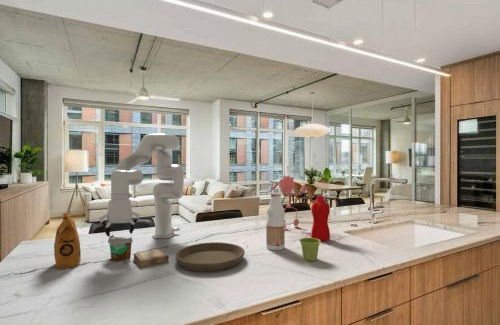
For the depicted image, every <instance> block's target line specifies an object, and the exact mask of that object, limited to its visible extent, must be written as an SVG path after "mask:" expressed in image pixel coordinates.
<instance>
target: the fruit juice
mask: <svg viewBox="0 0 500 325" xmlns="http://www.w3.org/2000/svg"><path fill="white" fill-rule="evenodd" d="M270 197H271V198H270V201H269V204H268V206H267V208H266V216H267V218H266V223H265V224H266V226H265V228H266V230H265V232H266V233H265V234H266V236H265V237H266V238H265V239H266V249H268V250H270V251H282V250H284V249H285V246H286V245H285V238H286V237H285V234H286V233H285V231H286V228H285V225H286V220H285V211H284V210H285V208H284V207H283V203H282V201H281V199H280V198H281V193H277V192H274V193H270ZM284 220H285V221H284Z"/></svg>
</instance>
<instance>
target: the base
mask: <svg viewBox="0 0 500 325" xmlns="http://www.w3.org/2000/svg"><path fill="white" fill-rule="evenodd" d="M133 261H134V262H135V263H136V264H137V265H138V266H139V267H140V268H142V269H143V268H146V267H152V266H156V265H161V264H166V263H169V262H170V255H169V254H168V253H167V252H165V251H164V250H162V249H161V248H155V249H151V250H145V251H139V252H134V253H133Z"/></svg>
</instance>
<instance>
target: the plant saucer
mask: <svg viewBox="0 0 500 325" xmlns="http://www.w3.org/2000/svg"><path fill="white" fill-rule="evenodd" d="M244 256H245V249H244V248H243V247H242V246H240V245H237V244H234V243H231V242H230V243H227V242H201V243H196V244H195V243H194V244H191V245H187V246H183V247H182V248H180V249H178V250H177V251H176V252H175V254H174V257H175V258H174V259H176V262H178V263H179V264H180V266H181V267H183V268H184V269H187V270H190V271H194V272H206V273H207V272H218V271H224V270H227V269H230V268H233V267H235V266H236V265H238V264H239V262H240V261H241V260H242V259H243V257H244Z"/></svg>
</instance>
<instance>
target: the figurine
mask: <svg viewBox="0 0 500 325" xmlns="http://www.w3.org/2000/svg"><path fill="white" fill-rule="evenodd" d="M294 180H295V178H294V177H293V176H292V177H290V175H287V176H286V175H283V177H282V179H281V178H280V180H279V181H280V183H279V182H277V183H276V184H274V185H273V186H272V188H270V190H269V192H272V191H274V190H275V189H277V187H279V189H280V192H281V194H282V195H283V196H284V195H288V203H287V204H286V207H285V208H284V212H285V211H286V209H287V208H288V209H290V208H292V209H294V210H295V211H296V214H295V219H294V220H293V222H292V223H293V226H294V227H297V229H299V222H300V220H299V219H298V217H297V215H298V209H297V208H295V207H293V206H292V205H291V204H290V200H291V196H292V195H295V196H299V195H300V194H301V192H303V193H306V192H307V190H308V188H307V185H305V184H303V185H302V186H301V189H300V191H299V193H297V194H296V193H294V192H293V190H296V186H295V185H296V182H295V181H294ZM284 221H285V222H286V220H285V219H284ZM306 228H307V227H306ZM285 231H287V224H285Z"/></svg>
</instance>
